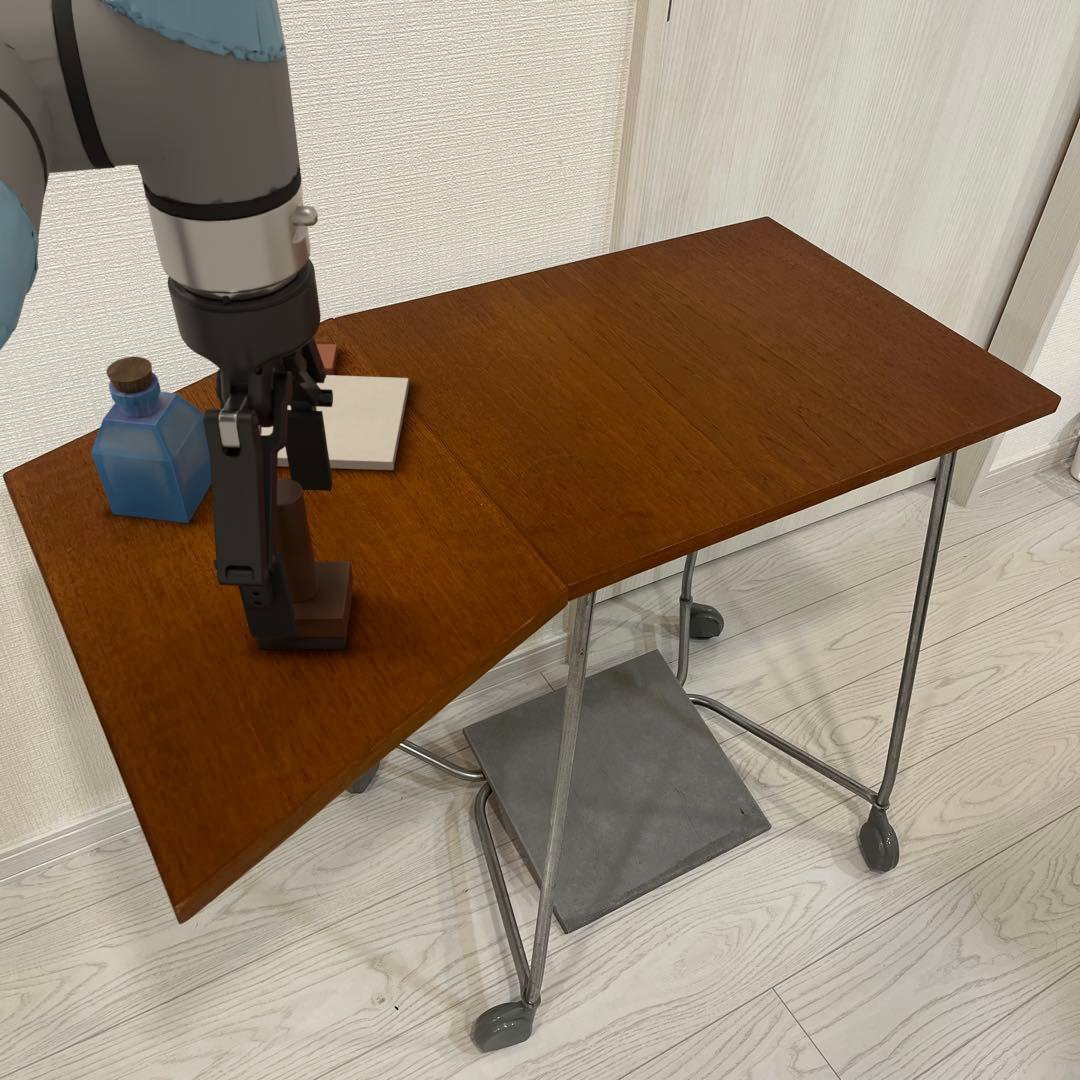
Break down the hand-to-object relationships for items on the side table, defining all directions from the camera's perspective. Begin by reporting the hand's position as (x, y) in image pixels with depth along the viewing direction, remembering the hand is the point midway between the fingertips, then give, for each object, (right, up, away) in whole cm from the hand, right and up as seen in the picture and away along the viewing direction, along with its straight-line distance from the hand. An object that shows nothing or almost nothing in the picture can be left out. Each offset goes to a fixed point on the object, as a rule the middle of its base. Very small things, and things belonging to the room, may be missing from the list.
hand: (294, 554), depth 68 cm
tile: (-2, +11, +21) cm, 24 cm away
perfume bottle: (-14, +5, +14) cm, 20 cm away
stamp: (0, -5, +5) cm, 7 cm away
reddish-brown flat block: (-5, +17, +28) cm, 33 cm away
